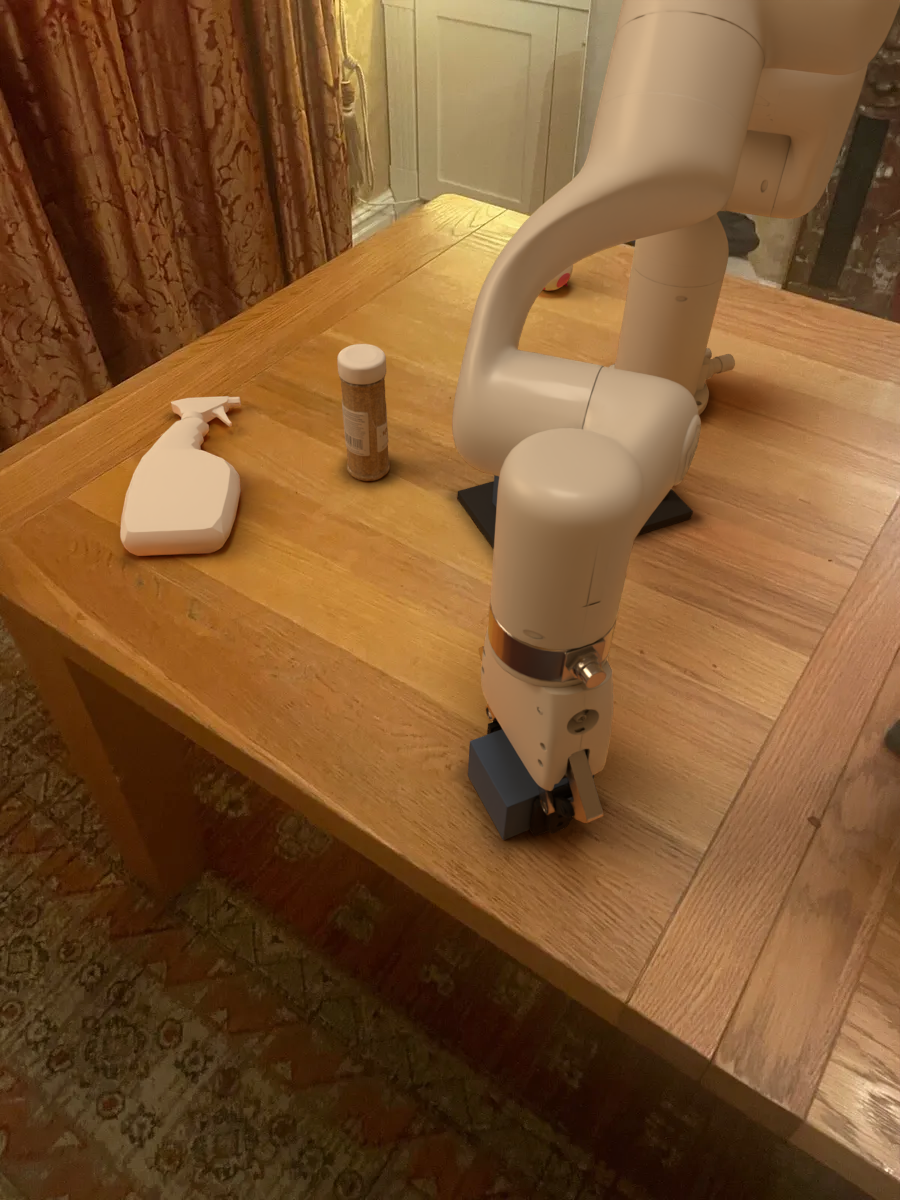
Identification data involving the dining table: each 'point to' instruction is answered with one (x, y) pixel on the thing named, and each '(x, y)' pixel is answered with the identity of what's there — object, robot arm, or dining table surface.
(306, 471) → the dining table surface
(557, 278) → the stress ball
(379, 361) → the sprinkles bottle
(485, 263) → the dining table surface
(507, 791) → the back pad
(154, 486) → the spray bottle
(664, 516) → the pad base
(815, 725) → the dining table surface
